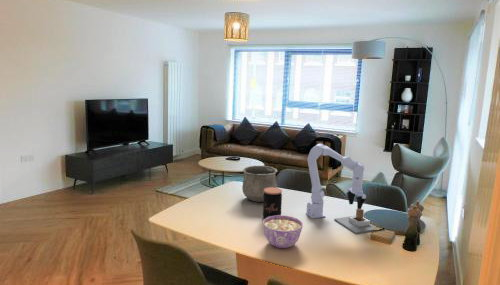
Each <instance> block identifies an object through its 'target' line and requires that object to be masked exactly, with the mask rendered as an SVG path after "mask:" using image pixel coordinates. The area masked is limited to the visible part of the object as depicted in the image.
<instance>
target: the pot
mask: <svg viewBox="0 0 500 285" xmlns="http://www.w3.org/2000/svg"><path fill="white" fill-rule="evenodd" d="M242 172H243V179H242V186H241V187H242V189H241V190H242V192H243V195H244V197H245V198H247V199H248V200H250V201H253V202H257V203H258V202H259V203H263V200H264V193H265V192H264V189H265V188H270V187H274V188H278V187H277V181H276V177H277V176H276V174H277V173H278V172H279V171H278V170H277V168H274V167H273V166H268V165H249V166H245V167H244V168H243V169H242Z"/></svg>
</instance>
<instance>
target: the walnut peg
mask: <svg viewBox="0 0 500 285" xmlns="http://www.w3.org/2000/svg"><path fill="white" fill-rule="evenodd" d="M355 212H356V213H355V216H356V220H357V221H363V216H364V212H365V210H364V209H363V208H361V209H358V208H356V210H355Z"/></svg>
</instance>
